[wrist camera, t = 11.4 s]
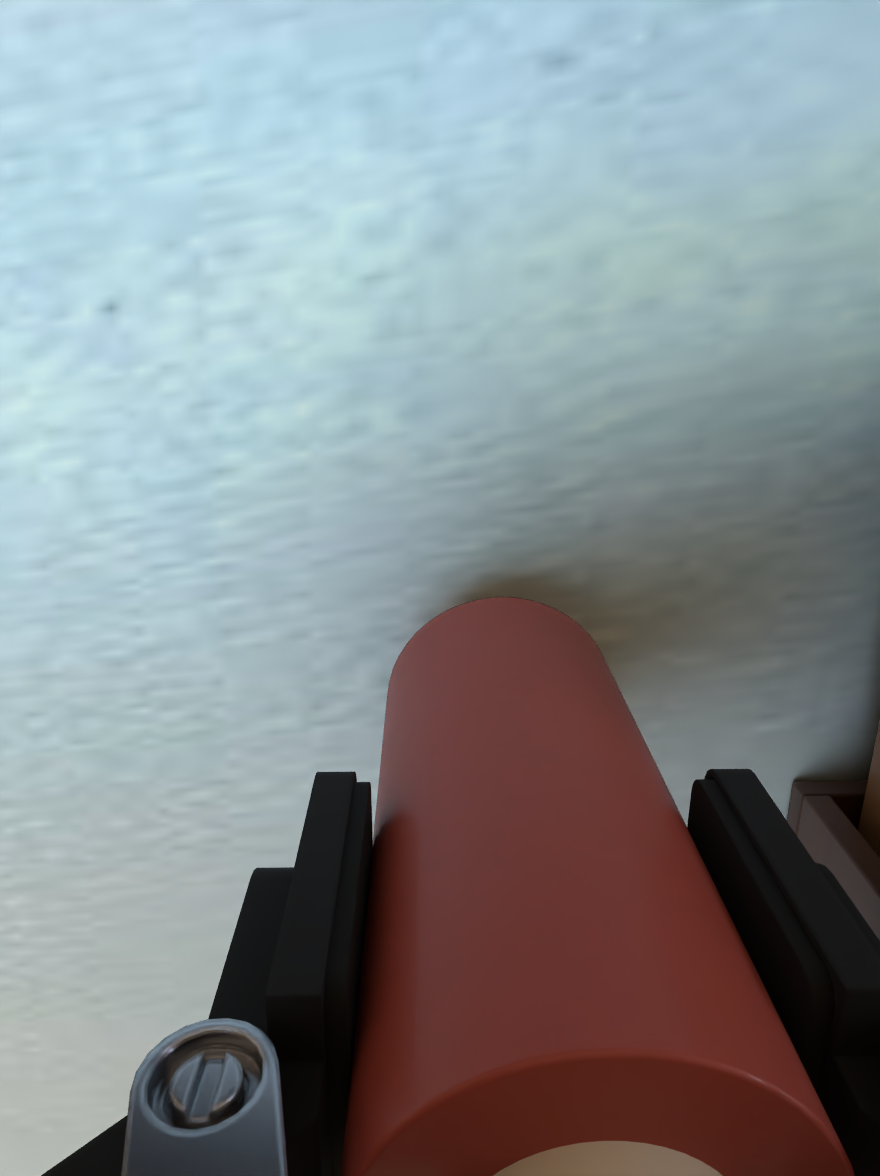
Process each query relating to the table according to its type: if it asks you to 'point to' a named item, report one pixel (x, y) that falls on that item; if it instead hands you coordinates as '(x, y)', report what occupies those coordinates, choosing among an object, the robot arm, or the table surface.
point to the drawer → (872, 802)
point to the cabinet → (839, 839)
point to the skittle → (552, 938)
